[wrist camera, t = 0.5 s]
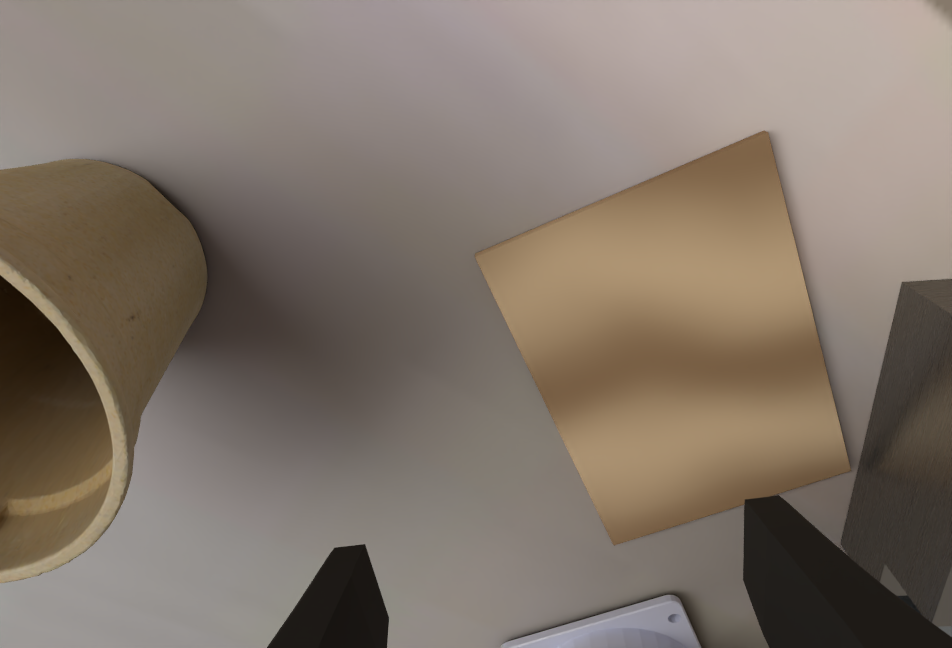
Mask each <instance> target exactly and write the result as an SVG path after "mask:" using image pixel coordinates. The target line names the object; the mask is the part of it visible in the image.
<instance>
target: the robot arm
mask: <svg viewBox="0 0 952 648" xmlns="http://www.w3.org/2000/svg"><path fill="white" fill-rule="evenodd" d="M743 580H744V583H745V586H746V589H747V592H748V594H749V597H750V600H751V603H752V606H753V609H754V611H755V614H756V617H757V619H758V622H759V625H760V627H761V630H762V632H763V635H764V637H765V639H766V641H767V643H768V645H769V648H952V637H951V636H950V635H948V634H947V633H945V632H944V631H943V630H941V629H940V628H938V627H937V626H936V625H934V624H933V623H932V622H930V621H929V620H928V619H926V618H925V617H924V616H922V615H921V614H920V613H918V612H917V611H916V610H914V609H913V608H912V607H910V606H909V605H908V604H907V603H905V602H904V601H903V600H901V599H900V598H899V597H898V596H896V595H895V594H894V593H892V592H891V591H890V590H889V589H887V588H886V587H885V586H884V585H883V584H881V583H880V582H879V581H878V580H876V579H875V578H874V577H873V576H872V575H870V574H869V573H868V572H867V571H865V570H864V569H863V568H862V567H861V566H859V565H858V564H857V563H856V562H854V561H853V560H852V559H851V558H850V557H849V556H847V555H846V554H845V553H844V552H843V551H842V550H840V549H839V548H838V547H837V546H836V545H835V544H834V543H832V542H831V541H830V540H829V539H828V538H827V537H825V536H824V535H823V534H822V533H821V532H820V531H819V530H818V529H816V528H815V527H814V526H813V525H812V524H811V523H810V522H809V521H807V520H806V519H805V518H804V517H803V516H802V515H801V514H800V513H799V512H797V511H796V510H795V509H794V508H793V507H792V506H791V505H790V504H789V503H787V502H786V501H785V500H784V499H783V498H781V497H780V496H779V495H778V496H770V497H761V498H753V499H745V507H744V567H743ZM388 623H389V617H388V614H387V611H386V608H385V605H384V602H383V598H382V595H381V592H380V589H379V586H378V583H377V580H376V577H375V574H374V571H373V568H372V565H371V562H370V558H369V555H368V552H367V549H366V546H365V544H363V545H355V546H346V547H338V548H334V549H333V551H332V552H331V553H330V555H329V556H328V558H327V559H326V561H325V562H324V564H323V565H322V567H321V568H320V570H319V571H318V573H317V575H316V576H315V578H314V579H313V581H312V582H311V584H310V585H309V587H308V588H307V590H306V591H305V593H304V594H303V596H302V597H301V599H300V600H299V602H298V603H297V605H296V606H295V608H294V609H293V611H292V612H291V614H290V615H289V617H288V618H287V620H286V621H285V622H284V624H283V625H282V627H281V628H280V630H279V631H278V633H277V634H276V635H275V637H274V638H273V640H272V641H271V643H270V644H269V645H268V647H267V648H387V638H388ZM501 648H701V645H700V643H699V641H698V639H697V636H696V634H695V632H694V630H693V627H692V625H691V623H690V621H689V618H688V616H687V614H686V611H685V609H684V607H683V605H682V602H681V600H680V599H679V598H678V597H677V596H675V595H664V596H661V597H658V598H654V599H651V600H647V601H644V602H641V603H637V604H634V605H630V606H627V607H624V608H620V609H617V610H613V611H610V612H607V613H603V614H600V615H596V616H593V617H590V618H586V619H583V620H579V621H576V622H572V623H569V624H566V625H562V626H559V627H555V628H552V629H549V630H545V631H542V632H538V633H535V634H532V635H528V636H525V637H521V638H518V639H515V640H511V641H508V642H506V643H504V644H503V645H502V646H501Z"/></svg>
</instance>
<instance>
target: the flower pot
mask: <svg viewBox="0 0 952 648" xmlns="http://www.w3.org/2000/svg"><path fill="white" fill-rule="evenodd" d="M206 287H207V266H206V260H205V256H204V253H203V249H202V246H201V243H200V241H199V238H198V236H197V234H196V232H195V230H194V228H193V226H192V224H191V223H190V221H189V220H188V219H187V218H186V217H185V216H184V215H183V214H182V213H181V212H180V211H178V210H177V209H176V208H175V207H174V206H173V205H172V204H171V203H170V202H169V201H168V200H167V199H166V198H165V197H164V196H163V195H162V194H161V193H160V192H158V191H157V190H156V189H155V188H154V187H153V186H152V185H151V184H150V183H149V182H148V181H147V180H145V179H144V178H142V177H141V176H139V175H137V174H135V173H133V172H131V171H129V170H127V169H124V168H121V167H119V166H116V165H112V164H109V163H106V162H101V161H96V160H88V159H66V160H59V161H53V162H49V163H44V164H38V165H32V166H25V167H18V168H11V169H3V170H0V583H5V582H11V581H18V580H22V579H26V578H30V577H34V576H39V575H40V574H42V573H45V572H49V571H52V570H54V569H56V568H58V567H60V566H62V565H64V564H66V563H69V562H70V561H71V560H73V559H74V558H76V557H77V556H79V555H81V554H82V553H84V552H85V551H86V550H87V549H89V548H90V547H91V546H92V545H93V544H94V543H95V542H96V541H97V540H98V539H99V538H100V537H101V536H102V535H103V533H104V532H105V531H106V530H107V529H108V527H109V526H110V525H111V523H112V521H113V520H114V518H115V517H116V515H117V513H118V511H119V509H120V507H121V505H122V503H123V501H124V499H125V496H126V493H127V490H128V487H129V484H130V480H131V476H132V470H133V458H134V446H135V444H136V441H137V437H138V432H139V427H140V419H141V415H142V413H143V411H144V409H145V407H146V405H147V403H148V402H149V400H150V398H151V396H152V394H153V393H154V391H155V389H156V387H157V385H158V383H159V382H160V380H161V378H162V376H163V374H164V372H165V371H166V369H167V367H168V365H169V363H170V362H171V360H172V358H173V356H174V354H175V353H176V351H177V349H178V347H179V346H180V344H181V342H182V340H183V338H184V337H185V335H186V333H187V331H188V329H189V328H190V326H191V324H192V323H193V321H194V320H195V318H196V316H197V315H198V313H199V311H200V309H201V307H202V304H203V301H204V297H205V293H206Z"/></svg>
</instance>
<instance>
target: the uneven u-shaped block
mask: <svg viewBox="0 0 952 648" xmlns="http://www.w3.org/2000/svg"><path fill="white" fill-rule="evenodd" d="M841 545H842V547H843V548H844V550H845V551H846V553H847V554H848V556H849V557H850V558H851V559H852V560H853V561H854V562H856V563H857V564H858V565H859V566H861V567H862V568H863V569H864V570H865V571H867V572H868V573H869V574H870V575H872V576H873V577H874V578H875V579H876V580H878V581H879V582H880V583H881V584H883V585H884V586H885V587H886V588H887V589H889V590H890V591H891V592H892V593H894V594H895V595H896V596H904V595H908V596H909V598H910V599H911V600H912V602H913V603H914V605H915V606H916V607H917V609H918V610H919V611H920V613H921V614H922V616H924V617H925V618H926V619H928V620H929V621H930V622H932V623H933V624H934V625H936V626H937V627H942V626H952V279H946V280H930V281H915V282H902V285H901V289H900V293H899V298H898V302H897V306H896V310H895V315H894V319H893V323H892V327H891V332H890V336H889V340H888V344H887V349H886V353H885V357H884V362H883V366H882V370H881V374H880V379H879V383H878V387H877V391H876V396H875V400H874V404H873V408H872V413H871V417H870V421H869V425H868V430H867V434H866V438H865V442H864V447H863V451H862V455H861V459H860V464H859V468H858V472H857V476H856V481H855V485H854V489H853V493H852V498H851V502H850V506H849V510H848V515H847V519H846V523H845V527H844V532H843V536H842V540H841Z"/></svg>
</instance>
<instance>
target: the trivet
mask: <svg viewBox="0 0 952 648" xmlns="http://www.w3.org/2000/svg"><path fill="white" fill-rule="evenodd" d="M475 258H476V260H477V263H478V265H479V267H480V269H481V271H482V273H483V275H484V277H485V279H486V281H487V283H488V285H489V287H490V290H491V292H492V294H493V296H494V298H495V300H496V302H497V304H498V306H499V308H500V310H501V312H502V314H503V316H504V319H505V321H506V323H507V325H508V327H509V329H510V331H511V333H512V335H513V337H514V339H515V341H516V343H517V346H518V348H519V350H520V352H521V354H522V356H523V358H524V360H525V362H526V364H527V366H528V368H529V370H530V373H531V375H532V377H533V379H534V381H535V383H536V385H537V387H538V389H539V391H540V393H541V395H542V397H543V400H544V402H545V404H546V406H547V408H548V410H549V412H550V414H551V416H552V418H553V420H554V422H555V424H556V427H557V429H558V431H559V433H560V435H561V437H562V439H563V441H564V443H565V445H566V447H567V449H568V451H569V454H570V456H571V458H572V460H573V462H574V464H575V466H576V468H577V470H578V472H579V474H580V476H581V478H582V481H583V483H584V485H585V487H586V489H587V491H588V493H589V495H590V497H591V499H592V501H593V503H594V505H595V508H596V510H597V512H598V514H599V516H600V518H601V520H602V522H603V524H604V526H605V528H606V530H607V532H608V535H609V537H610V539H611V541H612V543H613V545H617V544H620V543H623V542H626V541H629V540H633V539H636V538H639V537H642V536H645V535H648V534H652V533H655V532H658V531H661V530H664V529H668V528H671V527H674V526H677V525H680V524H683V523H687V522H690V521H693V520H696V519H699V518H703V517H706V516H709V515H712V514H715V513H718V512H722V511H725V510H728V509H731V508H734V507H738V506H741V505H744V504H745V499H753V498H761V497H769V496H772V495H776V494H779V493H782V492H785V491H788V490H792V489H795V488H798V487H801V486H804V485H807V484H811V483H814V482H817V481H820V480H823V479H827V478H830V477H833V476H836V475H839V474H842V473H846V472H849V471H851V468H850V464H849V460H848V456H847V452H846V448H845V444H844V440H843V435H842V431H841V427H840V423H839V419H838V415H837V411H836V407H835V403H834V399H833V395H832V391H831V387H830V383H829V379H828V374H827V370H826V366H825V362H824V358H823V354H822V350H821V346H820V342H819V338H818V334H817V330H816V326H815V322H814V318H813V313H812V309H811V305H810V301H809V297H808V293H807V289H806V285H805V281H804V277H803V273H802V269H801V265H800V261H799V257H798V252H797V248H796V244H795V240H794V236H793V232H792V228H791V224H790V220H789V216H788V212H787V208H786V204H785V200H784V196H783V191H782V187H781V183H780V179H779V175H778V171H777V167H776V163H775V159H774V155H773V151H772V147H771V143H770V139H769V135H768V132H766V131H762V132H760V133H757V134H755V135H753V136H750V137H748V138H745V139H743V140H741V141H738V142H736V143H734V144H731V145H729V146H727V147H724V148H722V149H720V150H717V151H715V152H713V153H710V154H708V155H706V156H703V157H701V158H699V159H696V160H694V161H692V162H689V163H687V164H684V165H682V166H680V167H677V168H675V169H673V170H670V171H668V172H666V173H663V174H661V175H659V176H656V177H654V178H652V179H649V180H647V181H645V182H642V183H640V184H638V185H635V186H633V187H631V188H628V189H626V190H624V191H621V192H619V193H616V194H614V195H612V196H609V197H607V198H605V199H602V200H600V201H598V202H595V203H593V204H591V205H588V206H586V207H584V208H581V209H579V210H577V211H574V212H572V213H570V214H567V215H565V216H563V217H560V218H558V219H556V220H553V221H551V222H548V223H546V224H544V225H541V226H539V227H537V228H534V229H532V230H530V231H527V232H525V233H523V234H520V235H518V236H516V237H513V238H511V239H509V240H506V241H504V242H502V243H499V244H497V245H495V246H492V247H490V248H487V249H485V250H483V251H480V252H478V253H476V254H475Z"/></svg>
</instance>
